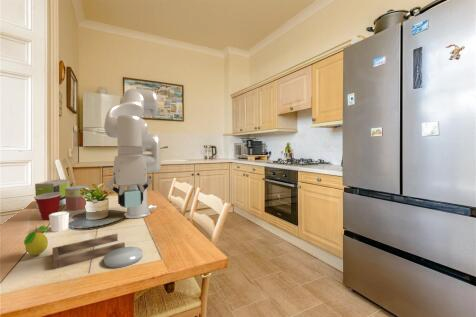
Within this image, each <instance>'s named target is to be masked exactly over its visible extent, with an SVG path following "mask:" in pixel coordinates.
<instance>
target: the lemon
mask: <svg viewBox="0 0 476 317" xmlns="http://www.w3.org/2000/svg"><path fill="white" fill-rule="evenodd" d="M38 230H39V231H42V233H41V232H38ZM47 231H48V228H47V227H46V225H40V226H38V227H37V226H35V230H34V231H32V232H30V233H28V234H27V235H26V236H25V239H24V241H23V244H24V247H25V251H26V252H27V253H28V254H30V255H35V256H38V255H40V254H41V253H43V252H44V251H45V250H46V249H47V248H48V244H49V243H48V237H47V236H46V235H45V234H44V233H43V232H47Z"/></svg>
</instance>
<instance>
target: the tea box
mask: <svg viewBox="0 0 476 317" xmlns="http://www.w3.org/2000/svg"><path fill="white" fill-rule="evenodd" d="M70 183H71V182H70V179H64V178H63V179H50V180H46V181H42V182H37V183H35V184H34V190H35V196H37V195H41V194H45V193H52V192H61V193H62V195H61V198H60V203H59V207H62V206H63V205H66V198H65V188H67V187H71V186H70ZM35 202H36V201H35ZM35 205H36V209H37V210H39V207H38V204H37V202H36V203H35Z"/></svg>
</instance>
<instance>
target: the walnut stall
mask: <svg viewBox="0 0 476 317" xmlns="http://www.w3.org/2000/svg"><path fill="white" fill-rule="evenodd" d="M117 241H119V240H118V233H112V234H108V235H104V236H100V237H95V238H91V239H87V240H81V241H77V242H73V243H68V244H63V245H60V246H54V247H52V261H53V269H54V270H56V269H60V268H62V267H67V266H71V265H74V264H79V263H81V262H85V261H90V260H92V259H96V258H100V257H103V256H105V255H106V254H107V253H109V252H111V251H113V250H115V249H118V248H123V247H126V245H125V244H126V242H125V241H123V242H118V243H114V242H117ZM110 243H114V244H110ZM106 244H110V245H107V246H106ZM101 245H105V246H102V247H99V246H101ZM97 246H98V247H99V248H94V249H91V250H86V251H83V252H78V253H75V254H71V255H66V256H63V257H60V255H64V254H69V253H73V252H76V251H81V250H85V249H89V248H92V247H97Z"/></svg>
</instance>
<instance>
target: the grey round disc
mask: <svg viewBox="0 0 476 317" xmlns="http://www.w3.org/2000/svg"><path fill="white" fill-rule="evenodd" d="M142 258H143V250H142V248H141V247H138V246H125V247H123V248H118V249H115V250H113V251H111V252H109V253H107V254H106V255H104V257H103V265H104V266H105V267H107V268H112V269H119V268H120V269H121V268H126V267H129V266H132V265H134V264H136V263H138V262H139V261H141V259H142Z"/></svg>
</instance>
